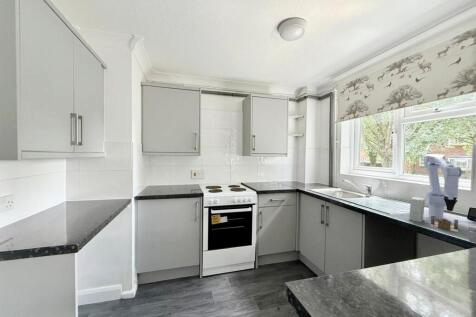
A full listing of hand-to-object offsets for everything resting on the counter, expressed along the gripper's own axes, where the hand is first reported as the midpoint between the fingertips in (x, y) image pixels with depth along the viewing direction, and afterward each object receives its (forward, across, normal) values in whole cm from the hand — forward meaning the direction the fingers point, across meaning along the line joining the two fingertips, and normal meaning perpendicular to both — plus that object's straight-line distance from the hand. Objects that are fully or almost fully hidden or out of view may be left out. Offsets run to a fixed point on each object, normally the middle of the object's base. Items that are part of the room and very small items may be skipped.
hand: (449, 209), depth 121 cm
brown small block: (+9, +9, -2) cm, 13 cm away
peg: (+10, +9, -2) cm, 13 cm away
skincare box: (+11, +1, -14) cm, 18 cm away
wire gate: (+10, +4, -2) cm, 11 cm away
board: (+10, +4, -2) cm, 11 cm away
